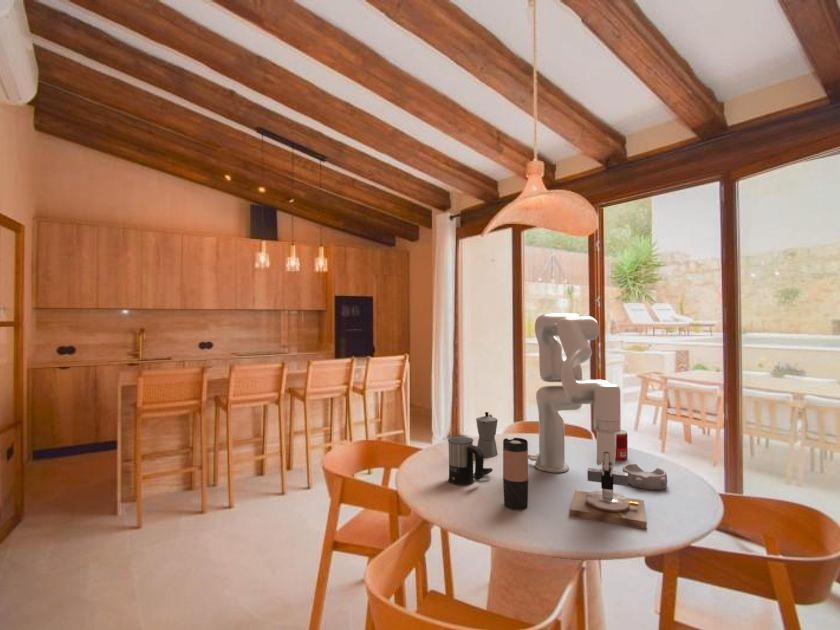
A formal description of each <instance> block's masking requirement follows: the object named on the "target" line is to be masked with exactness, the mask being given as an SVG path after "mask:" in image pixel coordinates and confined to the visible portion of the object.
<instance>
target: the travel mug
mask: <svg viewBox="0 0 840 630" xmlns="http://www.w3.org/2000/svg"><path fill="white" fill-rule="evenodd" d="M502 442H503V443H502V485H503V488H502V489H503V504H504V507H505V508H507V509H509V510H513V511H524V510H526V509H527V508H528V504H529V459H528V454H529V448H528V447H529V443H528V440H527V439H525V438H522V437H521V438H520V437H513V438H511V439H508V437H507V438H504V439H503V441H502Z"/></svg>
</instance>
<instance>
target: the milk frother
mask: <svg viewBox="0 0 840 630" xmlns="http://www.w3.org/2000/svg"><path fill="white" fill-rule="evenodd" d="M447 442H448V479H447V480H448V481H447V482H448V483H450V484H453V485H455V486H456V485H457V486H467V485H471V484H474V482H475V480H477V481H479V480H481V479H483V477H484V476H486V475H488V474H491V473H492V472H493V468H491V467H488V468H487V467H484V461H485V460H484V458H485V457H484V455H483V452H482V450H481V449H480V448H479V447H477V445H474V443H473V442H474V438H473V437H472V438H471V437H467V436H452V437H449V438H447ZM474 458H475V460H474Z"/></svg>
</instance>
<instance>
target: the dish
mask: <svg viewBox="0 0 840 630" xmlns="http://www.w3.org/2000/svg"><path fill="white" fill-rule="evenodd" d="M622 472H626V473H628V485H631V486H633V487H634V488H638V489H643V490H644V489H645V490H663V489H665V488H667V486H668V475H667V474H668V473H667V471H665V470H664V469H662V468H659V467H656V468H655V469H654V470H653V471H651V472H650V471H645V470H644V469H642V468H641V467H640V466H639V465H638V464H637V463H627V464H625V465H624V466H623V467H622Z"/></svg>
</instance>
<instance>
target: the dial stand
mask: <svg viewBox="0 0 840 630" xmlns="http://www.w3.org/2000/svg"><path fill="white" fill-rule="evenodd" d="M590 492H591V491H582V490H578V489H575V490H574V493H573V497H572V500H571V502H570V507H569V517H573V518H579V519H585V520H590V521H597V522H603V523H608V524H614V525H620V526H625V527H631V528H637V529H642V530H647V529H648V528H647V524H648V523H647V515H646V513H647V512H646V507H645V505H646V504H645V500H643V499H636V498H630V497H627V498H628V499H629V501H630V502H637V503H638V506H632V505H630V509H629V510H627V511H624V512H607V511H602V510H598V509H596V508H593V507H591V506H590V505H588V504H587V502H586V495H587V494H588V493H590Z"/></svg>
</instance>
